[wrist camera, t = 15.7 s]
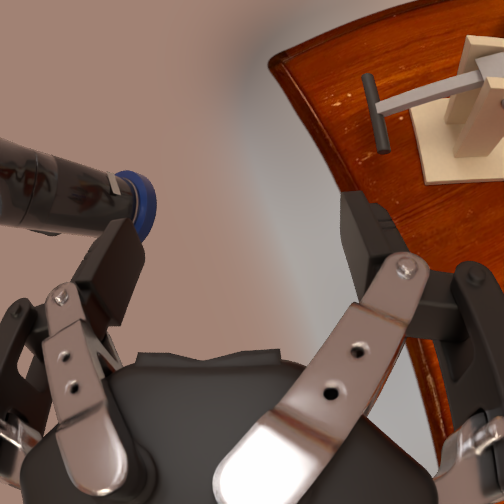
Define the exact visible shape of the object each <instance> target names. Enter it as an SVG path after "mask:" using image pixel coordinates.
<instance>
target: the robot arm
mask: <svg viewBox="0 0 504 504" xmlns="http://www.w3.org/2000/svg"><path fill="white" fill-rule="evenodd" d="M340 201H341V202H340V209H341V210H340V235H341V242H342V246H343V249H344V252H345V255H346V259H347V262H348V265H349V268H350V272H351V275H352V279H353V282H354V286H355V289H356V292H357V296H358V300H359V303H356V302H353V303H352V304H351V305H350V306H349V308H348V309H347V310H346V312H345V313H344V315H343V316H342V318H341V319H340V321H339V322H338V324H337V325H336V327H335V328H334V330H333V331H332V333H331V334H330V335H329V337H328V338H327V340H326V341H325V343H324V344H323V345H322V347H321V348H320V349H319V351H318V352H317V354H316V355H315V356H314V358H313V359H312V361H311V362H310V363H309V365H308V366H304V365H301V364H299V363H296V362H292V361H288V360H282V359H281V354H280V349H269V350H253V351H241V352H237V353H233V354H229V355H225V356H221V357H218V358H213V359H210V360H205V361H201V360H196V359H192V358H187V357H184V356H179V355H175V354H171V353H141V352H138V355H137V358H136V362H135V363H133V364H130V365H127V366H125V367H123V365H122V363H121V360H120V358H119V356H118V353H117V351H116V349H115V346H114V344H113V342H112V339H111V337H110V335H109V334H108V332H107V328H108V326H121V323H122V321H123V318H124V315H125V312H126V309H127V307H128V304H129V301H130V299H131V296H132V293H133V291H134V288H135V286H136V283H137V281H138V278H139V275H140V273H141V270H142V268H143V266H144V263H145V252H144V248H143V246H142V243H141V241H140V239H139V236H138V234H137V232H136V229H135V227H134V226H135V224H136V221H137V219H138V215H139V211H140V195H139V191H138V189H137V187H136V185H135V184H134V183H133V182H132V181H131V180H129V179H126V178H122V177H118V176H115V175H114V174H113V173H110V172H107V173H106V172H103V171H100V170H97V169H94V168H91V167H88V166H85V165H82V164H78V163H75V162H72V161H69V160H66V159H63V158H59V157H56V156H53V155H49V154H46V153H43V152H40V151H36V150H33V149H31V148H27V147H24V146H21V145H18V144H16V143H13V142H11V141H8V140H6V139H3V138H0V225H1V226H7V227H16V228H23V229H28V230H31V231H34V232H38V233H42V234H45V235H48V236H56V235H59V234H62V233H63V234H71V235H80V236H87V237H94V238H97V240H95V241H94V242H93V244H92V245H91V247H90V249H89V250H88V253H87V254H86V255H85V257H84V260H82V262H81V264H80V265H79V267H78V269H77V270H76V272H75V274H74V276H73V278H72V279H71V281H70V282H66V283H63V284H60V285H59V286H57V287H56V288H54V289H53V290H52V291H51V292H50V293H49V295H48V296H47V298H46V301H45V303H44V304H41V305H39V306H36V307H34V306H33V305H32V304H31V302H30V301H29V300H28V299H27V298H21V299H19V300H17V301H15V302H14V303H13V304H12V305H11V306H10V307H9V308H8V310H7V311H6V313H5V315H4V317H3V319H2V321H1V323H0V482H1V483H3V484H8V485H10V486H12V487H14V488H17V489H19V490H21V493H22V498H23V504H494V503H497V502H501V501H504V294H503V292H502V290H501V288H500V286H499V284H498V283H497V281H496V279H495V277H494V275H493V274H492V272H491V271H490V270H489V269H488V268H487V267H485V266H484V265H482V264H480V263H477V262H474V261H465V262H462V263H460V264H459V265H458V266H457V267H456V270H455V273H446V272H439V271H433V270H430V269H429V266H428V264H427V263H426V262H425V261H424V260H423V259H422V258H421V257H419V256H418V255H415V254H413V253H410V251H409V249H408V248H407V246H406V244H405V242H404V240H403V238H402V236H401V235H400V233H399V231H398V229H397V228H396V226H395V224H394V222H393V221H392V219H391V217H390V215H389V213H388V212H387V210H386V209H384V208H383V207H382V206H380V205H379V204H377V203H370V204H369V203H368V201H367V199H366V197H365V195H364V193H363V192H362V191H348V192H341V199H340ZM408 337H415V338H423V339H431V340H433V343H434V347H435V350H436V354H437V357H438V361H439V365H440V369H441V372H442V376H443V380H444V384H445V389H446V393H447V397H448V402H449V407H450V411H451V416H452V421H453V427H454V432H453V433H452V434H451V435H450V436H449V437H448V438H447V439H446V441H445V443H444V445H443V448H442V454H441V465H440V468H439V470H438V472H437V474H436V475H435V476H434V478H432V477H431V475H430V474H429V473H428V471H427V470H426V469H425V468H424V467H423V466H421V465H420V464H419V463H418V462H417V461H416V460H414V459H413V458H412V457H411V456H410V455H409V454H407V453H406V452H405V451H404V450H403V449H402V448H401V447H399V446H398V445H397V444H396V443H395V442H394V441H393V440H391V439H390V438H389V437H388V436H387V435H386V434H385V433H384V432H382V431H381V430H380V429H379V428H378V427H377V426H376V425H375V424H373V423H372V422H371V421H370V420H369V419H368V418H367V416H368V414H369V412H370V411H371V409H372V407H373V406H374V404H375V402H376V400H377V398H378V396H379V395H380V393H381V391H382V389H383V386H384V384H385V383H386V381H387V379H388V376H389V375H390V373H391V371H392V369H393V367H394V365H395V363H396V361H397V359H398V357H399V355H400V353H401V350H402V348H403V346H404V344H405V342H406V340H407V338H408ZM24 345H25V346H26V347H27V348H28V349H29V350H30V351H31V352H32V353H33V354H34V357H33V360H32V362H31V365H30V368H29V371H28V373H27V376H26V379H24V378H23V377H22V376H21V375H20V374H19V372H18V369H17V362H18V359H19V357H20V354H21V352H22V350H23V347H24ZM52 400H53V404H54V408H55V412H56V416H57V419H58V424H57V425H56V426H55V427H54V428H53V429H52V430H51V431H50V432H48V433H47V434H46V435H45V436H44V437H43V435H44V431H45V427H46V422H47V419H48V415H49V411H50V407H51V404H52Z"/></svg>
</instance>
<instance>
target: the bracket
mask: <svg viewBox="0 0 504 504" xmlns="http://www.w3.org/2000/svg"><path fill="white" fill-rule="evenodd" d="M501 52H504V39H503V38H494V37H484V36H470V35H467V36H466V40H465V44H464V49H463V53H462V57H461V61H460V65H459V68H458V72H457V76H458V75H461V74H464V73H468V72H471V71H475V70H479V68H478V66H477V64H476V61H475V59H478V58H481V57H485V56H489V55H493V54H497V53H501ZM409 112H410V116H411V120H412V124H413V128H414V132H415V137H416V141H417V146H418V150H419V155H420V160H421V165H422V171H423V176H424V182H425V185H435V184H451V183H469V182H490V181H504V78H500V77H486V79H485V81H484V84H483V86H482V87H480V88H477V89H473V90H469V91H465V92H462V93H458V94H455V95H451V96H450V98H446V99H438V100H435V101H431V102H428V103H425V104H422V105H418V106H415V107H412V108H409Z"/></svg>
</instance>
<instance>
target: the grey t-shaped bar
mask: <svg viewBox="0 0 504 504" xmlns="http://www.w3.org/2000/svg"><path fill="white" fill-rule="evenodd" d="M475 61H476V64H477V66H478V68H479V70H475V71H471V72H468V73H464V74H461V75H458V76H454V77H451V78H448V79H444V80H441V81H438V82H435V83H432V84H429V85H426V86H423V87H420V88H417V89H414V90H411V91H408V92H405V93H402V94H400V95H397V96H394V97H391V98H388V99H386V100H383V101H380V99H379V95H378V91H377V87H376V83H375V80H374V76H373V75H372V74H370V73H366V74H363V75H362V77H361V78H362V82H363V86H364V90H365V94H366V99H367V103H368V107H369V112H370V117H371V121H372V126H373V131H374V136H375V142H376V147H377V152H378V154H388V153H390V152H391V149H390V143H389V138H388V133H387V129H386V124H385V120H384V117H385V116H388V115H391V114H394V113H397V112H400V111H403V110H406V109H409V108H412V107H415V106H418V105H422V104H425V103H428V102H431V101H435V100H438V99H441V98H445V97H448V96H451V95H455V94H458V93H462V92H465V91H469V90H473V89H477V88H480V87H482V86H483V84H484V81H485V79H486V77H500V78H504V52H501V53H497V54H493V55H489V56H485V57H481V58H478V59H475Z"/></svg>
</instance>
